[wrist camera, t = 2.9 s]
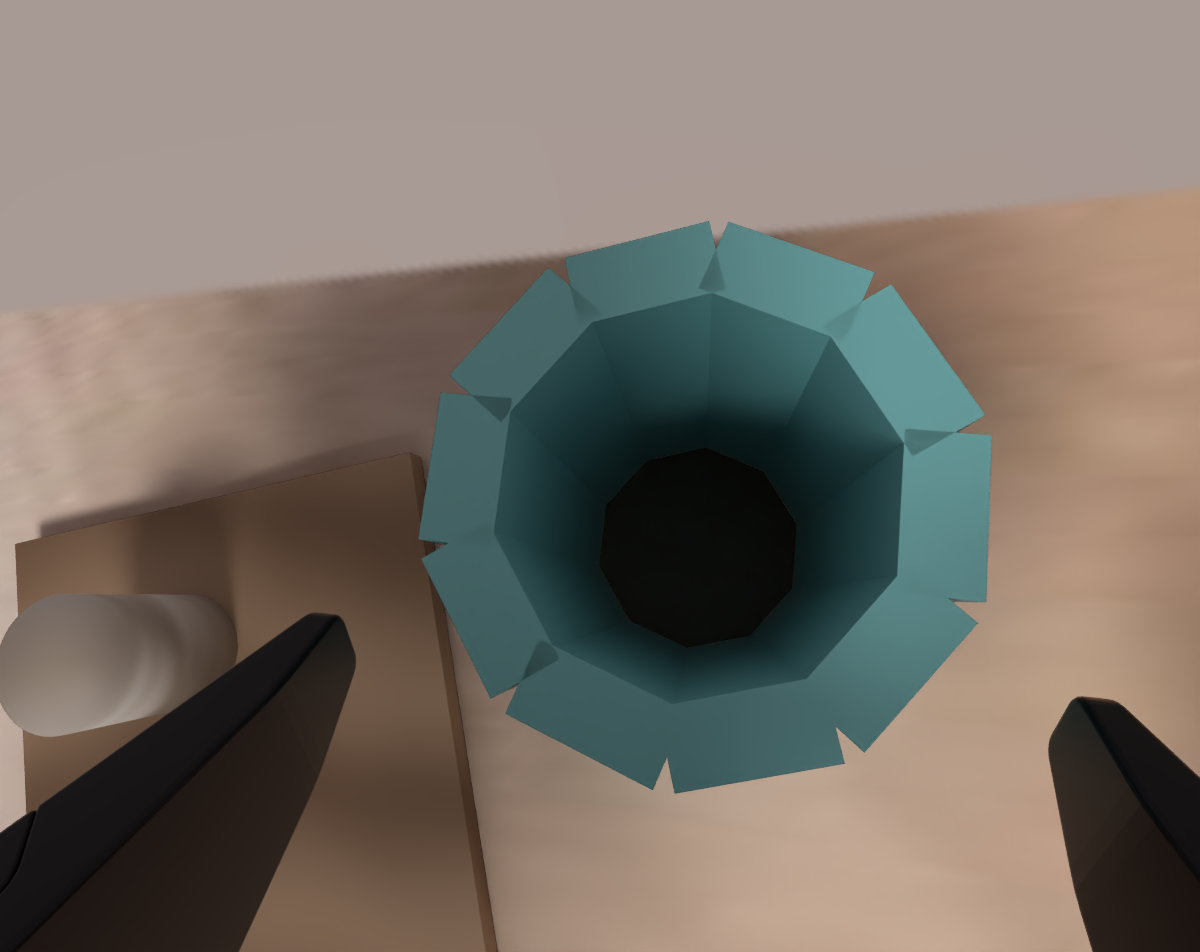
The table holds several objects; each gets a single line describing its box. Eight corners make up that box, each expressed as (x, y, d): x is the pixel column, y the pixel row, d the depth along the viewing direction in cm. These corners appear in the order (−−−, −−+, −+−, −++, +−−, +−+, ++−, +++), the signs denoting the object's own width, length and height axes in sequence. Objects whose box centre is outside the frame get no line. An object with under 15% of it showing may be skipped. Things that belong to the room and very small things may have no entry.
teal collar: (872, 653, 18) (1081, 721, 8) (587, 708, 19) (462, 831, 9) (802, 388, 19) (908, 170, 9) (539, 448, 20) (383, 304, 10)
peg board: (519, 1097, 17) (452, 1282, 13) (69, 1158, 18) (-146, 1349, 14) (420, 457, 20) (337, 416, 16) (40, 546, 21) (-144, 531, 17)
